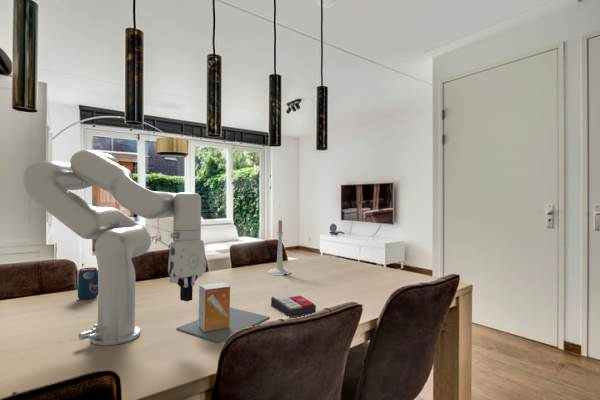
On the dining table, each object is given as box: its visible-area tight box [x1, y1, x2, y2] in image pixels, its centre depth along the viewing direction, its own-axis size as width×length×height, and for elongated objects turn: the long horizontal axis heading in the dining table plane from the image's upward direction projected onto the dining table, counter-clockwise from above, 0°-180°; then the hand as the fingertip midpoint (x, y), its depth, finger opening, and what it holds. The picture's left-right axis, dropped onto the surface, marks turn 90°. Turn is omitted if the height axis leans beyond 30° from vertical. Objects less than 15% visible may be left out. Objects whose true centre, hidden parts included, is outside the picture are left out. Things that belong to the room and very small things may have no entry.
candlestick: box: [267, 219, 292, 275], centre depth 187 cm, size 13×13×30 cm
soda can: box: [77, 267, 98, 302], centre depth 134 cm, size 7×7×12 cm
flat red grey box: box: [270, 292, 317, 318], centre depth 125 cm, size 11×4×15 cm
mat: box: [175, 307, 270, 344], centre depth 109 cm, size 24×18×1 cm
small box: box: [198, 282, 231, 332], centre depth 105 cm, size 8×6×13 cm
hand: (186, 300), depth 96 cm, fingers closed
